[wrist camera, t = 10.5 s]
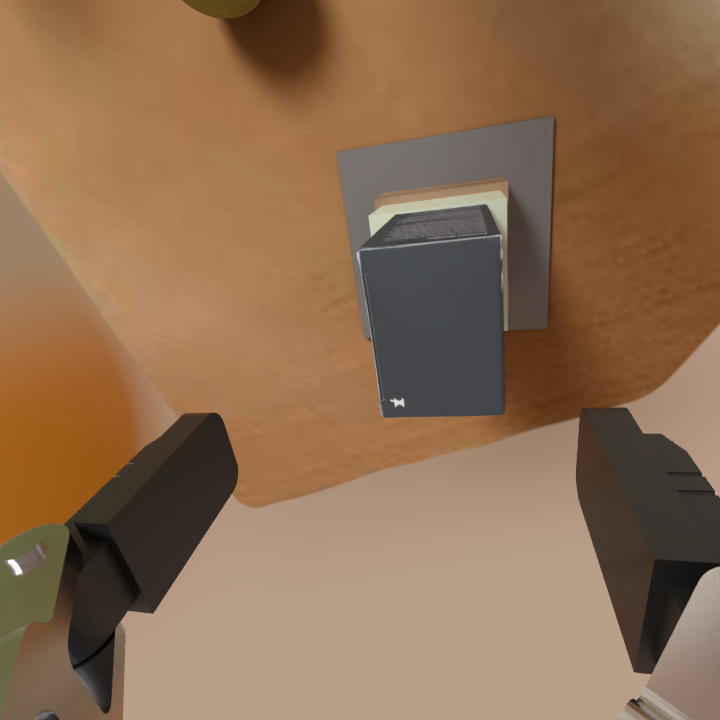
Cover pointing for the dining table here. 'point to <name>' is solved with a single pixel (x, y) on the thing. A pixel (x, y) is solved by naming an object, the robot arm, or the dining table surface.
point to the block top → (491, 199)
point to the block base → (449, 191)
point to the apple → (223, 7)
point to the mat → (461, 164)
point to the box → (437, 312)
